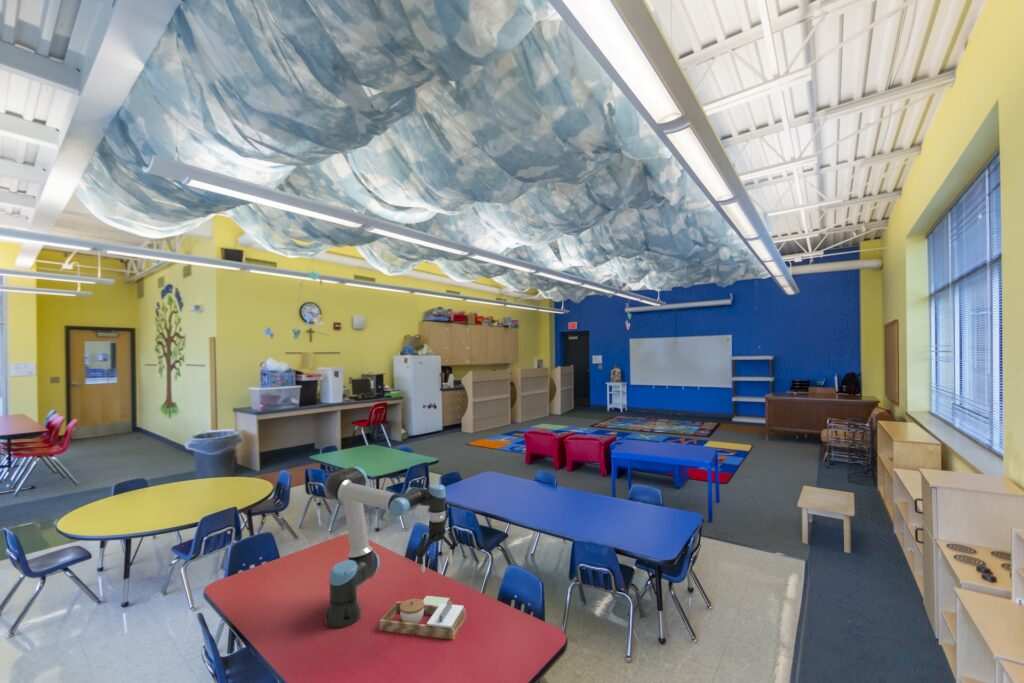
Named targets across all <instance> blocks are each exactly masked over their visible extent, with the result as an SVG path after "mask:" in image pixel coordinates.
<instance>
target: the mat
mask: <svg viewBox="0 0 1024 683" xmlns="http://www.w3.org/2000/svg"><path fill="white" fill-rule="evenodd" d="M422 600H423V601H424V604H427V605H437V606H439V605H440V604H441V603H443V604H448V602H449V601H450V597H444V596H443V597H442V596H434V595H426V596H425V597H424V599H422Z"/></svg>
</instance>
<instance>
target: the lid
mask: <svg viewBox="0 0 1024 683" xmlns="http://www.w3.org/2000/svg"><path fill="white" fill-rule="evenodd" d="M463 608H464V605H460V604H453V601H452V600H449V601H448V602H447V604H443V603H441V604H440V605H439V607H438V608H437V610H436V611H435V612H434V614H433V615H431V616H430V617H429V620H427V622H426V625H428V626H436V627H444V628H452V627H453V626H454V624H455V622H456V621H457V619H458V616H459V615H460V613H461V611H462V610H463ZM464 609H465V608H464Z"/></svg>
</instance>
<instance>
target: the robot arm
mask: <svg viewBox="0 0 1024 683" xmlns="http://www.w3.org/2000/svg"><path fill="white" fill-rule="evenodd" d="M324 482H325V483H324V490H325V493H326V495H327V496H328V497H329V498H331V499H333V500H336V501H341V502H343V505H344V512H345V519H346V525H347V534H348V541H349V545H350V546H349V547H350V548H349V549H350V552H349V553H348V554H347V558H348V559H346V560H343V561H340V562H338V563H336V564H334V565H333V567H332V568H331V569H330V572H329V603H328V607H327V611H326V613H325V620H324V622H325V625H326V626H328V628H333V629H338V628H344V627H348V626H350V625H352V624H354V623H356V622H358V621H359V620H360V619H361V616H362V610H361V607H360V604H359V601H358V587H360V586H361V585H363V584H364V583H365V582H367V581H368V580H370V579H372V577H374V576H375V575H376V574H377V572H378V571H379V568H380V565H381V564H380V563H381V562H380V561H381V560H380V557H379V555H378V554H377V552H376V551H375V550H374V548H373V547H372V546H371V545H370V542H369V534H368V529H367V522H366V516H365V515H366V514H365V509H364V505H366V506H370V507H374V508H379V509H382V510H385V511H389V512H390V513H391V514H392V516H394V517H401V516H403V515H406V514H407V513H409V512H410V511H412V510H413V509H415V508H417V507H419V506H424V507H428V532H422V533H421V539H420V541H419V543H418V544H417V545H418V546H417V548H416V550H415V553H414V555H415V556H416V558H418V562H419V565H420V571H421V572H422V573H425V571H426V556H425V554H426V553H427V551H428V550H429V548H430V547H431V545H432V544H433V543H434V542H435V543H436V542H439V541H442V540H443V541H444V542H445V543H446V545H447V546H448V549H447V553H448V554H447V562H448V564H449V565H452V564H453V557H454V555H455V554H454V553H455V551H454V550H455V549H456V547H458V542H457V541H456V539H455V537H454V534H453V531H452V528H451V527H449V526H447V527H446V498H447V497H446V495H447V494H446V487H445V485H443V484H431V485H429V487H428V488H421V487H417V486H415V487H408V488H407V489H406V490H405V492H404V493H403V494H400V493H396V492H391V491H387V490H383V489H379V488H374V487H371V486H366V485H367V483H368V475H367V473H366V471H365V470H364V469H363V468H362V467H360V466H351V467H347V468H345V469H341V470H339V471H335V472H333V473H331V474H330V475H329V476H328V477H327V478H326V481H324ZM446 533H447V535H448V537H449V539H450V541H451V542H450V541H449V540H448V539H447V537H446V536H445V534H446Z"/></svg>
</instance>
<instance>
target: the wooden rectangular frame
mask: <svg viewBox="0 0 1024 683" xmlns="http://www.w3.org/2000/svg"><path fill="white" fill-rule="evenodd" d="M402 602H403V601H399V600H397V601H396V602H395V603H394V604H393V605H392V606H391V607H390V609H388V611H387V612H385V614H384V615H383V616H382V617H381V619H380V620H379V631H382V632H383V631H384V632H391V633H399V634H406V635H416V636H423V637H432V638H439V639H447V640H455V638H456V636H457V634H458V633H459V631H460V629H461V627H462V625H463V624H464V622H465V620H466V619H467V611H466V610H467V609H466V608H463V610H462V611H461V613H460V615H459V616H458V618H457V620H456V621H455V623H454V625H453V626H452V628H444V627H436V626H428V625H427V624H425V623H424V624H423V623H418V624H416V623H407V622H403V621H396V620H392V619H393V618H394V616H396V614H397V613H398V612H399V613H400V605H401V603H402ZM438 607H439V606H437V605H427V604H424V614H423V615H427V616H432V615H433V614H434V612H435V611H436V610H437V608H438Z"/></svg>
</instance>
